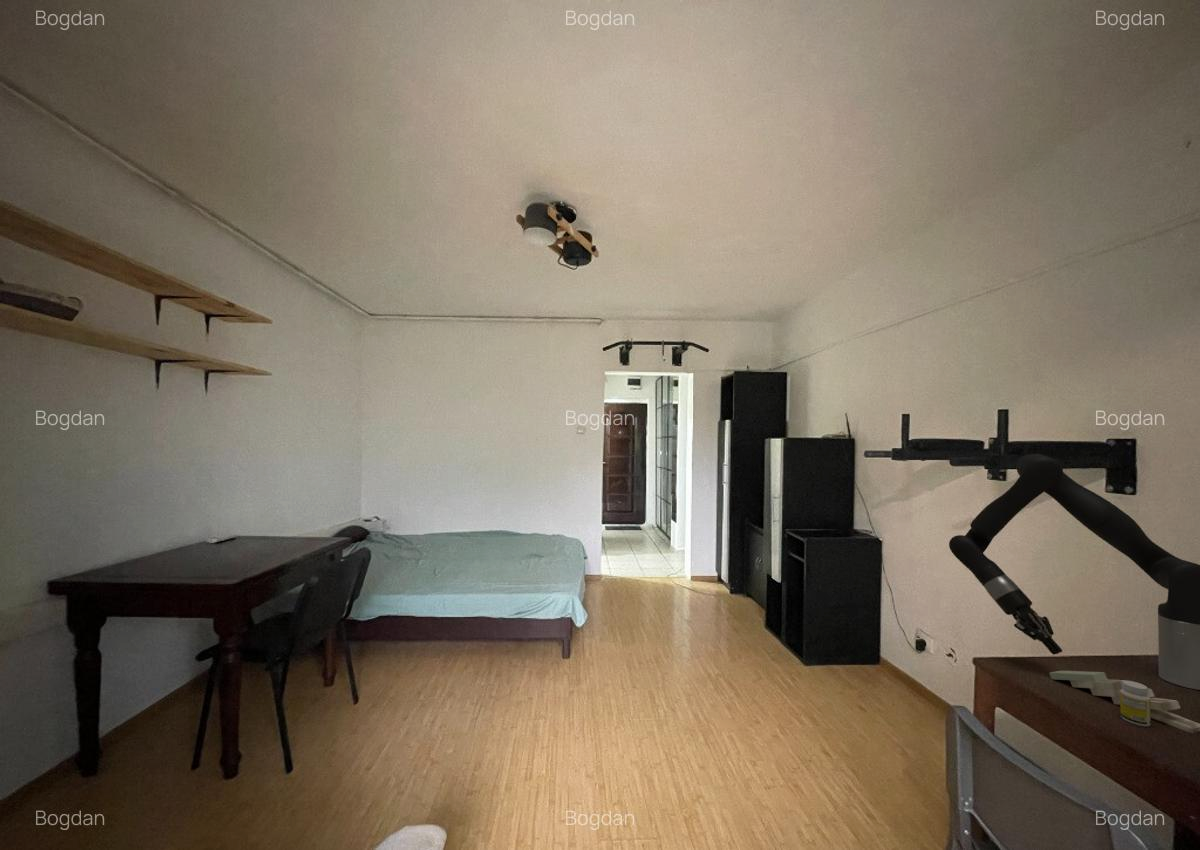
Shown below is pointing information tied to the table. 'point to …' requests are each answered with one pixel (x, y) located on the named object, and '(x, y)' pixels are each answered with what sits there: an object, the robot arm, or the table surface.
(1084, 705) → the table surface
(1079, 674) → the domino
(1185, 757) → the table surface
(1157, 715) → the domino
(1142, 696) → the supplement bottle
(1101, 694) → the domino
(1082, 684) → the domino
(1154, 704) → the domino
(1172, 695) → the table surface
